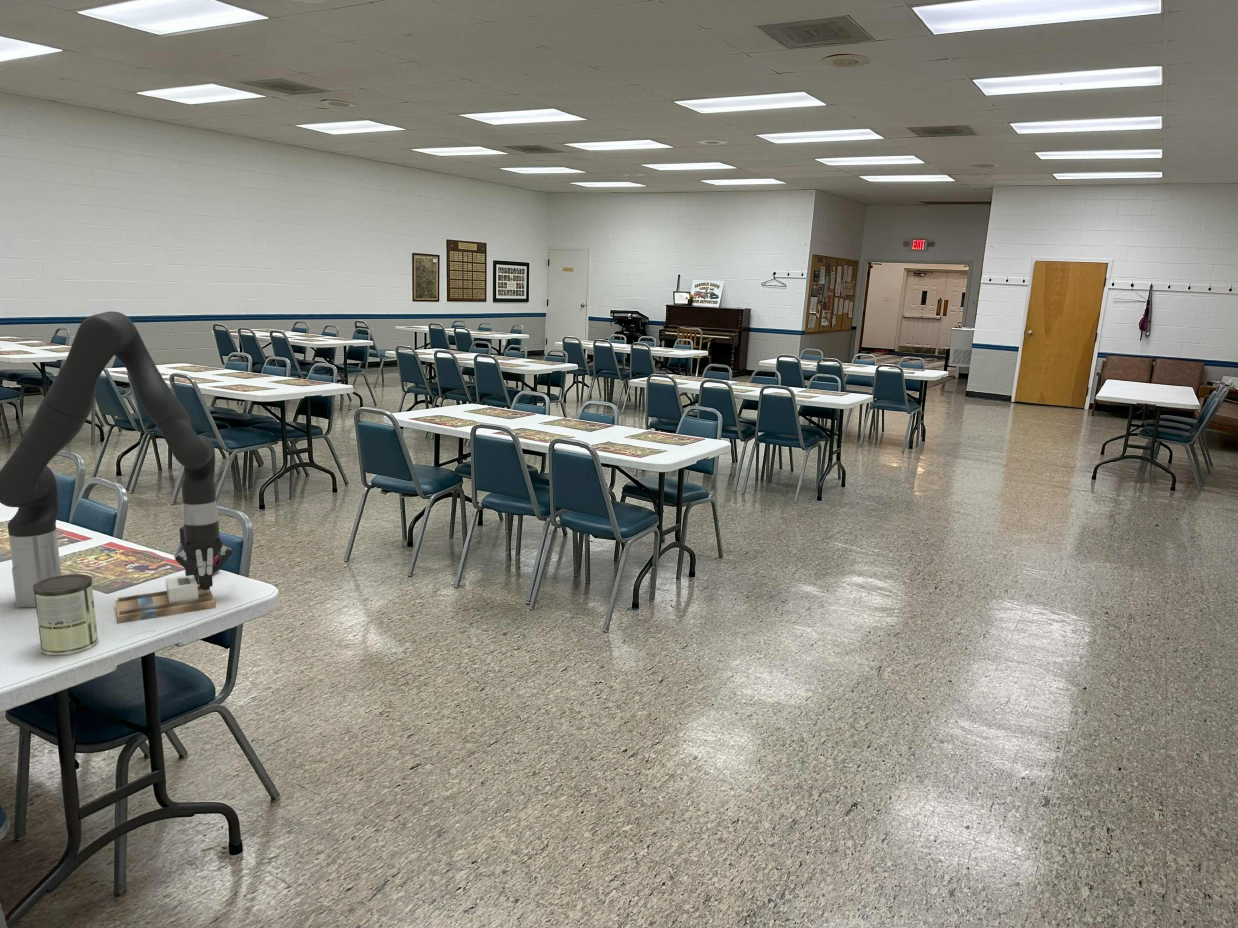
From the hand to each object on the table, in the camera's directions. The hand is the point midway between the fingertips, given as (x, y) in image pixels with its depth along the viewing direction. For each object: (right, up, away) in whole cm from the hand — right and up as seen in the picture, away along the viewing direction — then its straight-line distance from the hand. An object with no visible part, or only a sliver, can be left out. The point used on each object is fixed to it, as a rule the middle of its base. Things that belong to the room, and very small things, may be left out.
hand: (206, 588), depth 204 cm
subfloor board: (-8, -4, -4) cm, 9 cm away
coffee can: (-16, -8, -27) cm, 32 cm away
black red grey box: (-9, 0, +16) cm, 18 cm away
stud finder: (-4, -2, -3) cm, 5 cm away
